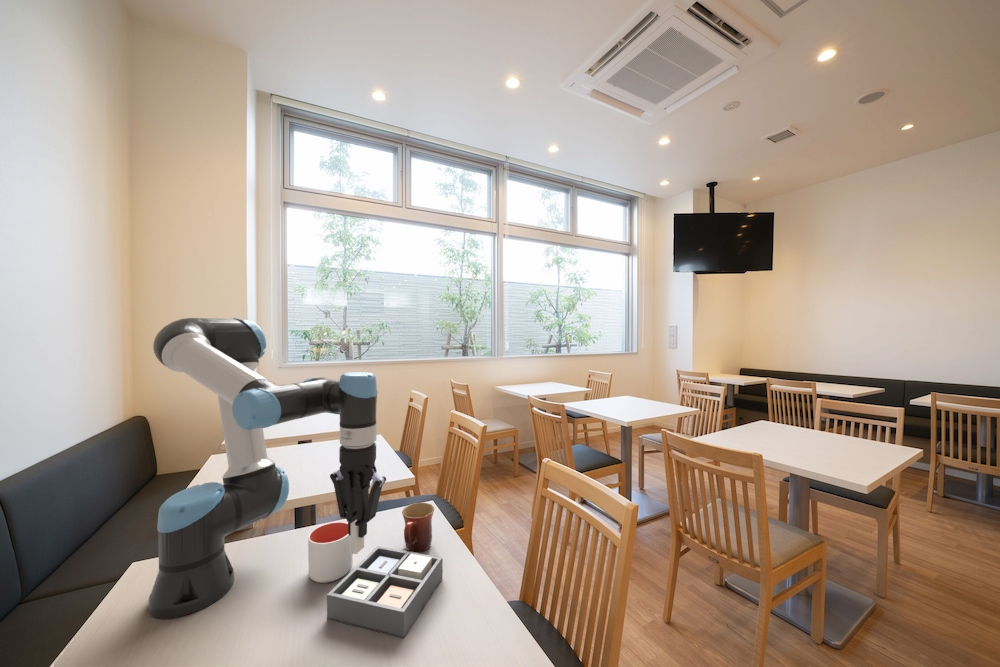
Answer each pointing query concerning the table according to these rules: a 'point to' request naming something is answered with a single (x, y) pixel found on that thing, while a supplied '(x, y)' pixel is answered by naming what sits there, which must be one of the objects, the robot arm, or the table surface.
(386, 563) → the slate key
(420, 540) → the mug
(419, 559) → the cream key
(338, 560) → the cup
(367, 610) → the grey compartment tray
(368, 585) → the sage key
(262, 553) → the table surface
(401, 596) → the terracotta key
